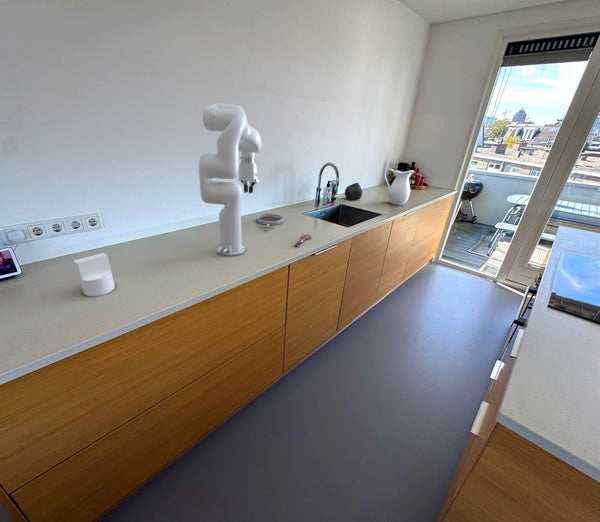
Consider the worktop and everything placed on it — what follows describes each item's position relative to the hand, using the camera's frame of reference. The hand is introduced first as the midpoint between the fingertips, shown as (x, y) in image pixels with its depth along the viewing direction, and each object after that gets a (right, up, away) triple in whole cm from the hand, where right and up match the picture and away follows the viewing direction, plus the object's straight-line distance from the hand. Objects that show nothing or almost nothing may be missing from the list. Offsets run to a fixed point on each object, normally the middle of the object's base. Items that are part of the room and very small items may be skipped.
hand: (248, 192), depth 170 cm
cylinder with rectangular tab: (-39, -51, -71) cm, 96 cm away
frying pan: (+12, -19, +3) cm, 22 cm away
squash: (+76, +12, +77) cm, 109 cm away
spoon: (+32, -31, -19) cm, 48 cm away
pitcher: (+110, +9, +75) cm, 134 cm away
